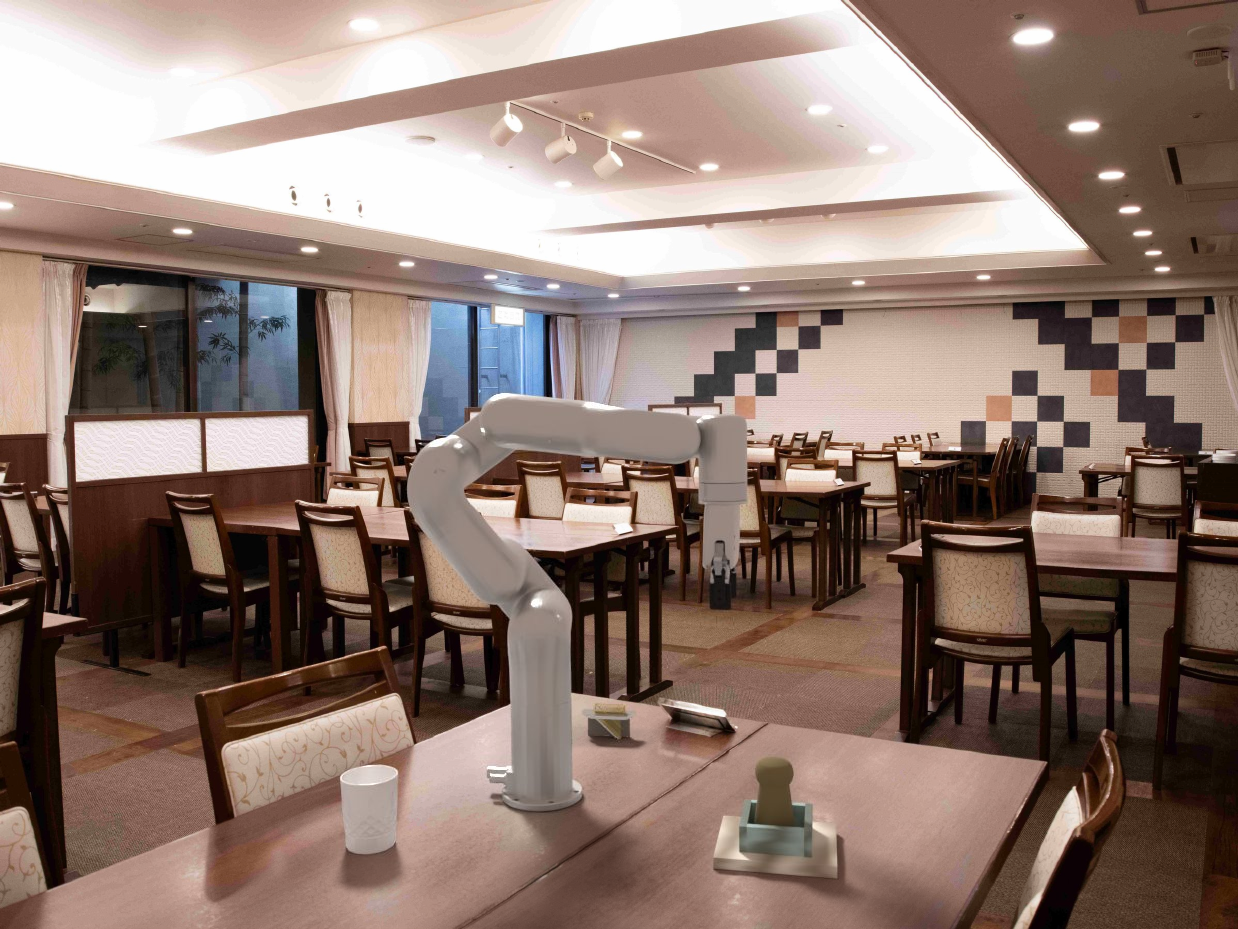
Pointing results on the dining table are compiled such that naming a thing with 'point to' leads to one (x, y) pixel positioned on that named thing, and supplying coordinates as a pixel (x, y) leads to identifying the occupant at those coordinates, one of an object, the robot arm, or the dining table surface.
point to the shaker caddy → (777, 844)
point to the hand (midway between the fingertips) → (723, 603)
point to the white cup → (369, 808)
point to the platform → (609, 721)
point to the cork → (774, 792)
